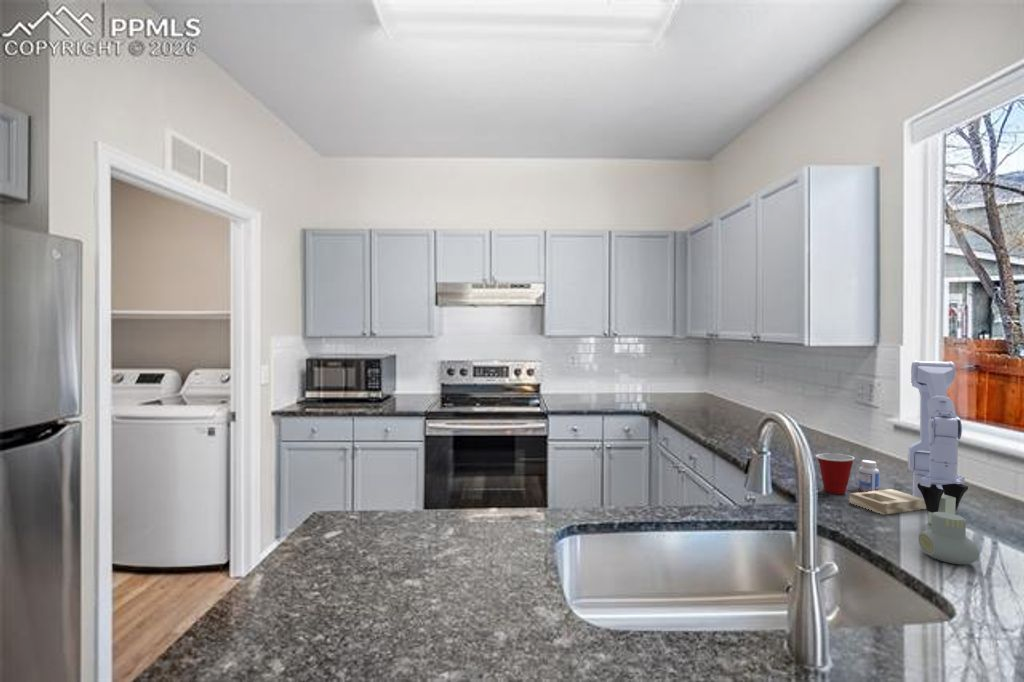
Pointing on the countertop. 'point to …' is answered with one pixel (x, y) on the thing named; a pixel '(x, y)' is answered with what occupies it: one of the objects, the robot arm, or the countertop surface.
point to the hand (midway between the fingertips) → (941, 511)
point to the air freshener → (948, 540)
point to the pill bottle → (868, 476)
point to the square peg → (944, 506)
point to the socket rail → (887, 501)
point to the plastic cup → (835, 471)
